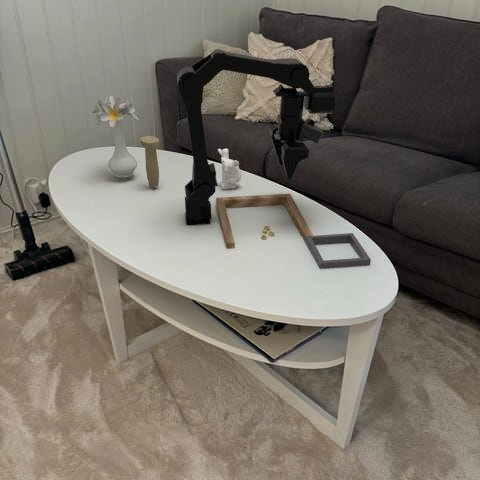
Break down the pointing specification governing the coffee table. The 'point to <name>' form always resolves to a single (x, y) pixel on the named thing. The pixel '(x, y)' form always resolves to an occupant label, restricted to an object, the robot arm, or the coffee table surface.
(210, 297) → the coffee table surface
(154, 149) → the handle
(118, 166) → the flower vase
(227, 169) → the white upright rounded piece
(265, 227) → the dice set
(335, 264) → the bin
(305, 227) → the wooden u-frame
